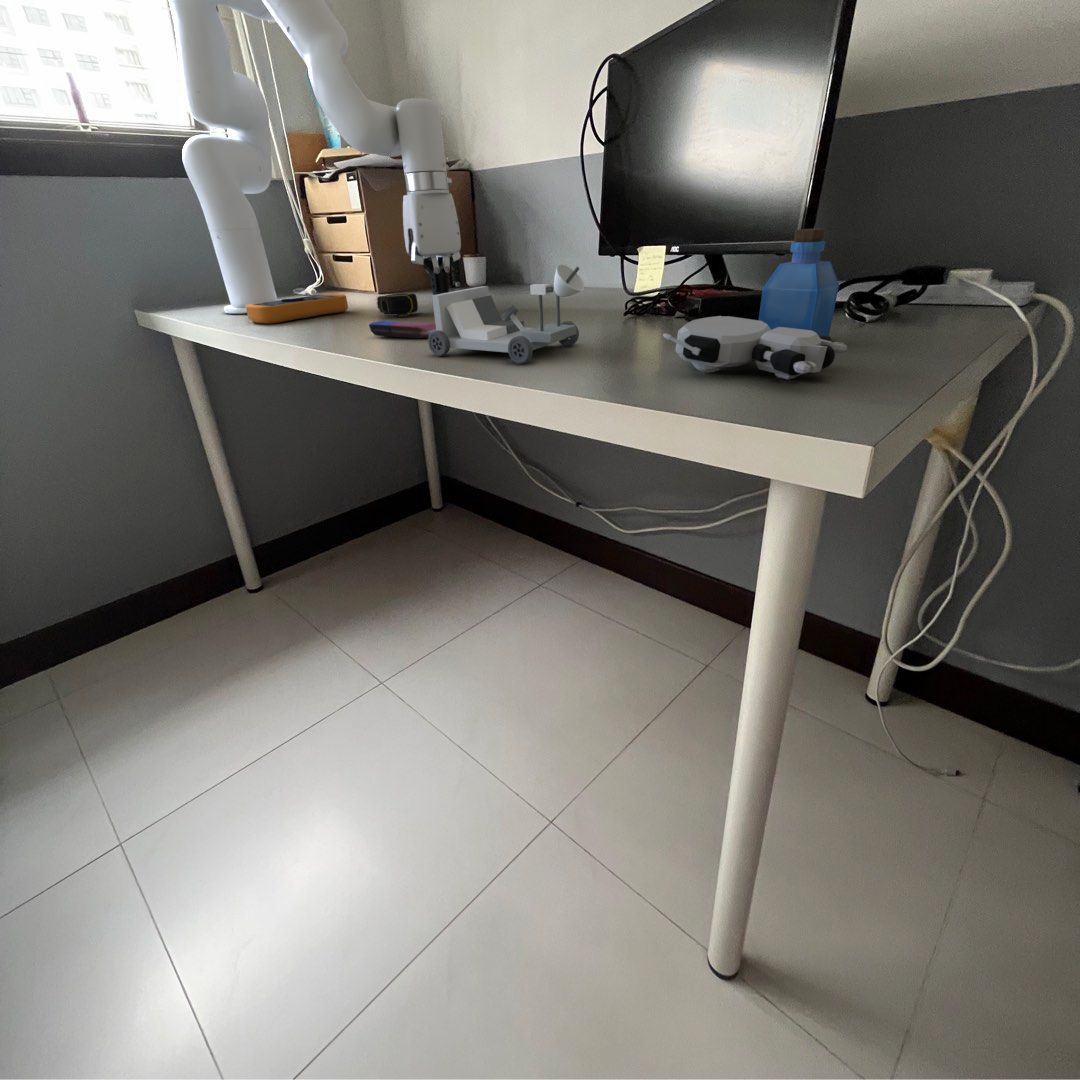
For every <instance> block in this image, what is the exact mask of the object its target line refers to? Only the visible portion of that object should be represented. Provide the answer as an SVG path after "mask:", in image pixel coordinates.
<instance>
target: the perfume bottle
mask: <svg viewBox="0 0 1080 1080" xmlns="http://www.w3.org/2000/svg"><path fill="white" fill-rule="evenodd" d="M826 230H827V228H803V229H802V228H801V229H800V228H799V229H794V237H795V238H794V239H795V241H792V242H791V244H790V253H792V256H791V261H788V262H783V263H779V265H777V268H775V270H774V272H773V273H772V275H771V276H770V277H769V279H768V280H767V282H766V283H765V285H764V286H763V287H762V293H761V301H760V308H759V315H758V321H762V322H764V323H766V324H767V325H768V326H769V327H770V329H771V330H772V329H775V328H777V327H786V328H795V329H803V330H811V331H814V332H815V333H817V334H818V336H830V333H831V329H832V328H831V327H832V323H833V318H834V312H835V309H836V303H837V297H838V292H839V289H840V283H839V281H838V278H837V275H836V272H835V269H834V268H833V265H832V263H831V261H830V260H828V261H827V260H823V261H822V260H820V257H821V252H824V250H825V245H826V240H823V238H824V235H825V233H826Z"/></svg>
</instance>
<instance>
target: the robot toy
mask: <svg viewBox="0 0 1080 1080" xmlns="http://www.w3.org/2000/svg"><path fill="white" fill-rule="evenodd" d="M662 335H663V338H664V339H665V340H668V341H671V342H673V343H675V352H676V354H677V355H678V356H679V358H680V359H682V361H685V362H689V363H691V364H692V365H693V367H694V368H695V369H696V370H698V371H699V372H702V373H707V374H708V373H710V374H711V373H716V372H719V371H720V370H722V369H723V368H732V367H733V368H734V367H739V366H745V365H747V364H752V363H755V364H756V367H757V368H758V369H759V370H761V371H764V372H769V373H773V374H774V376H775V377H776V378H779V379H783V380H791V379H795V378H797V377H799V376H802V375H805V374H808V373H813V374H814V373H820V372H821V371H822V370H823V369H827V368H829V367H830V366H831V365H832V364H833V363H834V361H835V358H836V354H845V353H846V352H847V350H848V345H846V344H845V343H844V342H840V341H834V342H832V337H831V336H830V335H829V336H818V334H817V333H815V332H814V331H811V330H803V329H795V328H786V327H777V328H775V329H772V330H771V329H770V327H769V326H768V325H767V324H766V323H764V322H762V321H759V319H758V320H757V319H751V318H744V317H738V316H730V315H727V316H725V315H724V316H722V315H717V316H716V315H715V316H708V317H703V318H696V319H693V320H691V321H689V322H686V323H685V324H684V325H683V326H682V327H681V328H679V329H678V331H677V336H676V337H673V336H672V335H671V334H669V333H662Z"/></svg>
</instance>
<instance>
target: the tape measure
mask: <svg viewBox="0 0 1080 1080" xmlns="http://www.w3.org/2000/svg"><path fill="white" fill-rule="evenodd" d="M376 304H377V308H378V310H379V312H380V313H382V314H383V315H386V316H387V315H388V316H395V315H397V316H398V317H399V318H406V317H409V316H410V315H409V314H413V313H417V312H418V310H419V304H418V298H417V294H415V293H413V292H410V293H409V292H407V293H406V292H405V293H404V292H403V293H400V292H399V293H391V294H385V295H379V296H377V302H376Z"/></svg>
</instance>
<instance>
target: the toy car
mask: <svg viewBox="0 0 1080 1080" xmlns="http://www.w3.org/2000/svg"><path fill="white" fill-rule="evenodd" d="M579 270H580V267H579V266H576V267H575V268H574V269H573V268H572V267H570V266H568V265H566V264H564V263H559V264H557V265H556V268H555V273H554V279H553V286H551V284H549V283H533V284H529V290H530V295H531V296H533V295H534V296H538V314H539V326H537V327H525V321H524V320H519V319H518V318H517V316H516V315H517V314H518V312H519V311H518V309H517V308H516V306H515V305H511V306H509V307H508V308H507V309H506V310H504V311H503V314H502V316H501V313H500V311H499V309H498V307H497V305H496V303H495V301H494V299H493V297H492V295H489V293H490V292H489V285H482V286H475V287H471V288H465V289H460V290H455V291H449V292H448V293H443V294H437V295H433V294H432V295H431V299H432V307H433V308H432V309H433V315H434V323H435V324H436V331H433V332H432V333H431V334H430V335H429V338H427V344H428V347H429V351H431V353H432V354H433V355H435V356H437V357H442V356H446V355H447V354H449V351H450V349H461V350H462V349H463V350H474V351H485V352H486V351H487V352H496V353H508V356H509V358H510V359H511V361H513V362H514V363H516V364H518V365H519V364H520V365H522V364H525V363H528V362H529V361H530V360H531V359H532V357H533V353H534V352H533V351H535V350H537V349H541V348H544V347H546V346H548V345H551V344H554V343H557V342H558V343H559V344H560V345H562V346H564V347H571V346H573V345H575V344H576V343H577V342H578V340H579V336H580V331H579V328H578V325H576V323H575V322H573V321H571V320H565V321H562V322H561V301H560V298H567V297H568V298H569V297H571V296H574V295H576V294H578V293H581V292H582V291H584V290H585V283H584V281H583V279H582V277H581V275H579V274H578V272H579ZM551 293H555V302H556V303H555V305H556V307H555V308H556V323H547V324H544V309H543V306H544V305H543V296H546V295H551Z"/></svg>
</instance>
